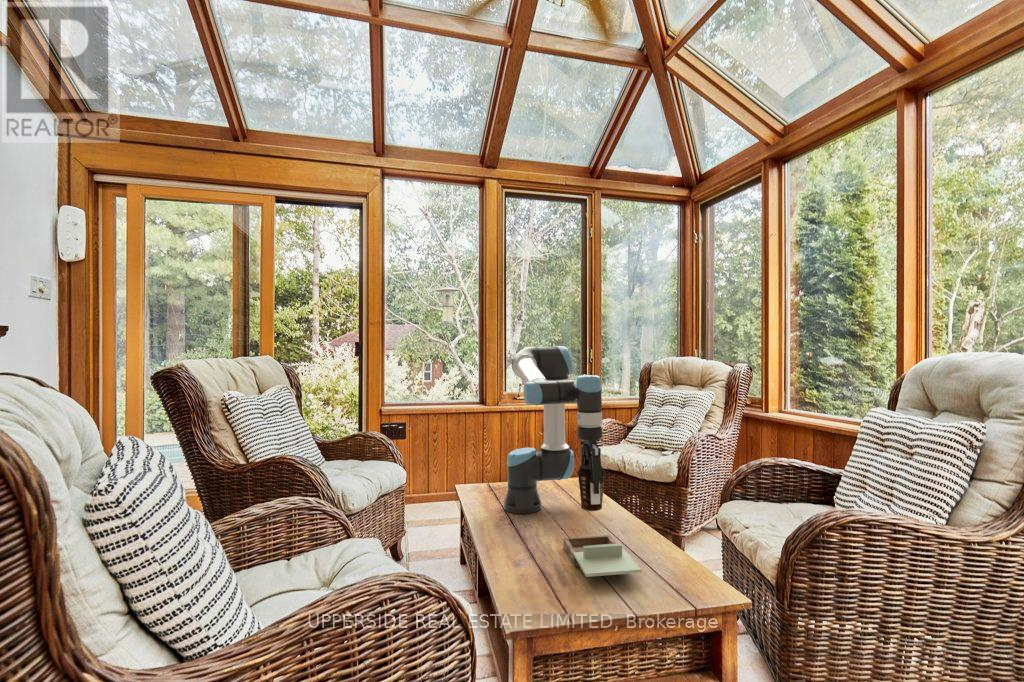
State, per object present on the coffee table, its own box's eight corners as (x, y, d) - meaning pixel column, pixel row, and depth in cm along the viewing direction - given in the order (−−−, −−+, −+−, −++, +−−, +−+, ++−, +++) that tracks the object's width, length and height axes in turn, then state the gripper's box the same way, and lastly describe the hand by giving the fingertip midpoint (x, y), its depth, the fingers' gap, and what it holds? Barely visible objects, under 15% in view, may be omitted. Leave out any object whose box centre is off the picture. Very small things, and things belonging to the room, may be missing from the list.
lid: (573, 555, 146) (573, 542, 146) (623, 551, 148) (623, 538, 148) (586, 576, 132) (585, 562, 132) (641, 572, 134) (641, 558, 134)
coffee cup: (608, 505, 156) (607, 463, 156) (604, 514, 148) (603, 470, 149) (580, 503, 159) (579, 462, 159) (575, 511, 151) (574, 468, 151)
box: (563, 548, 160) (563, 538, 160) (609, 544, 161) (609, 534, 161) (574, 567, 146) (573, 556, 146) (624, 563, 147) (624, 552, 148)
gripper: (570, 421, 164) (571, 490, 164) (586, 431, 143) (588, 511, 143) (592, 420, 165) (594, 489, 164) (612, 430, 144) (614, 509, 144)
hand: (591, 499), depth 154 cm, fingers closed on coffee cup, 8 cm apart
